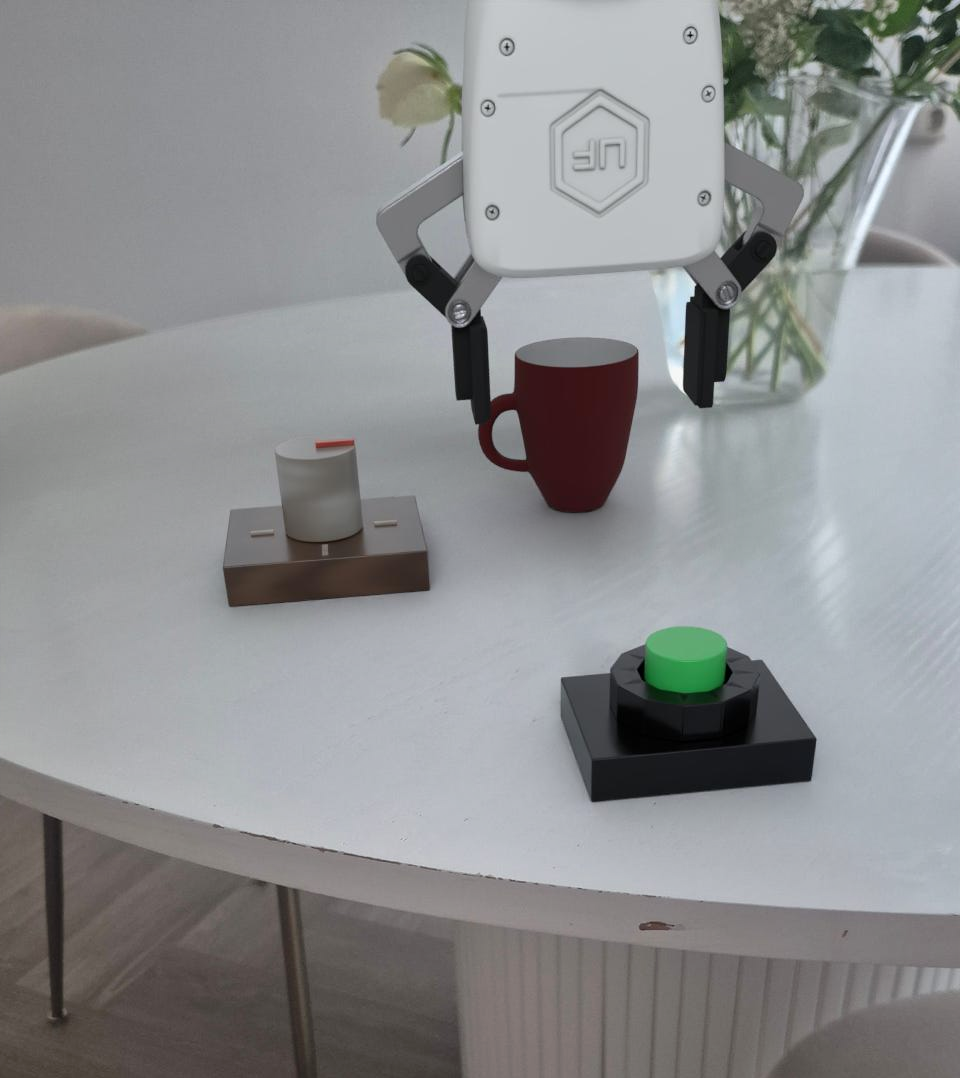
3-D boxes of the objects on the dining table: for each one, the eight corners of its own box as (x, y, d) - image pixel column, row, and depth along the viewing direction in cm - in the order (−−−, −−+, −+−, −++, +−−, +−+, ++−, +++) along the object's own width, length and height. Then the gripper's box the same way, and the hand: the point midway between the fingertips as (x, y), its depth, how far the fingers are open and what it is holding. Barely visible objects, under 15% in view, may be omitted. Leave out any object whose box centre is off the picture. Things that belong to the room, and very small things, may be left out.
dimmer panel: (228, 607, 75) (221, 564, 73) (235, 546, 83) (229, 506, 81) (430, 590, 76) (427, 547, 74) (417, 531, 84) (414, 492, 82)
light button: (654, 700, 55) (655, 664, 54) (636, 664, 58) (637, 629, 57) (734, 692, 56) (737, 656, 55) (712, 657, 59) (714, 622, 58)
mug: (493, 532, 83) (487, 375, 77) (473, 493, 90) (467, 345, 84) (648, 517, 84) (654, 361, 79) (618, 479, 91) (621, 333, 85)
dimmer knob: (284, 545, 76) (273, 456, 73) (285, 517, 80) (274, 432, 76) (364, 538, 76) (356, 450, 73) (361, 511, 80) (353, 427, 77)
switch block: (591, 802, 55) (592, 723, 53) (560, 716, 62) (560, 642, 60) (811, 781, 56) (822, 701, 54) (758, 698, 63) (765, 624, 60)
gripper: (349, -62, 43) (395, 447, 52) (855, -92, 43) (807, 417, 53) (353, -55, 49) (392, 399, 58) (794, -82, 49) (761, 373, 59)
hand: (589, 407), depth 56 cm, fingers open, 9 cm apart
